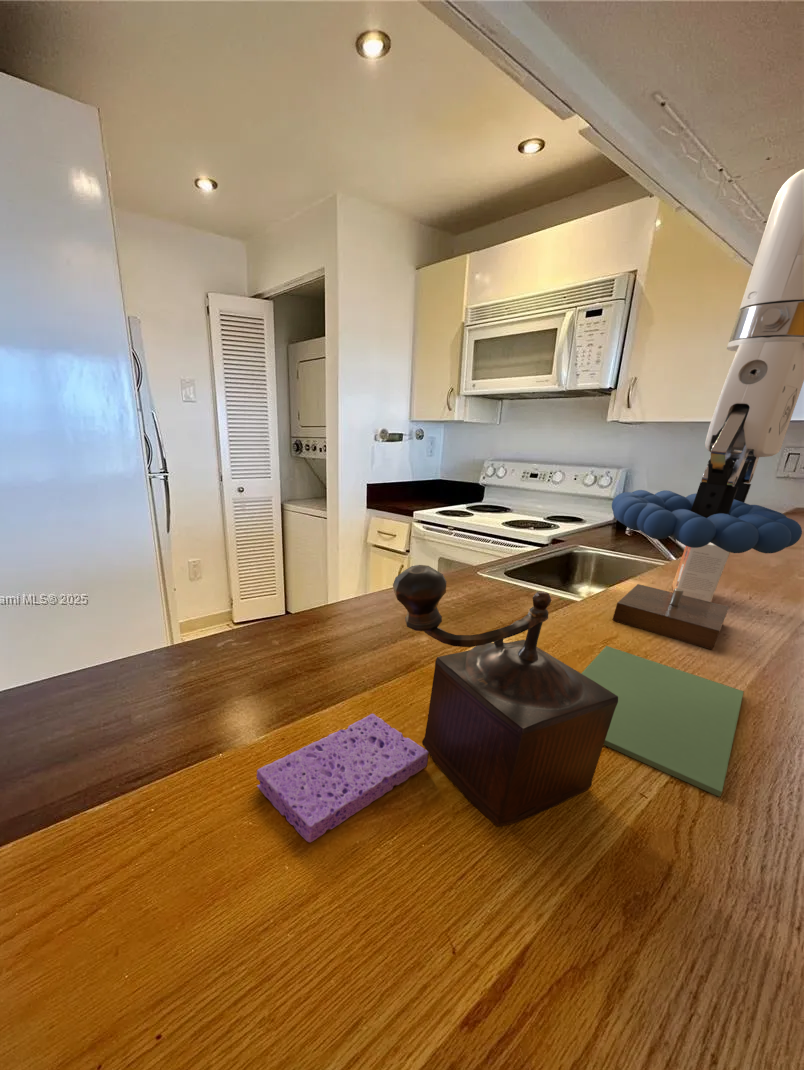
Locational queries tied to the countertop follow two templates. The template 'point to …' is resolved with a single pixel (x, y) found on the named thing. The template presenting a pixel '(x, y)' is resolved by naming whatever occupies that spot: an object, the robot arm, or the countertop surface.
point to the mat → (669, 717)
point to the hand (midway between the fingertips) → (713, 518)
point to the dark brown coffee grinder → (507, 710)
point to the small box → (700, 571)
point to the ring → (706, 522)
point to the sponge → (339, 775)
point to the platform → (672, 615)
